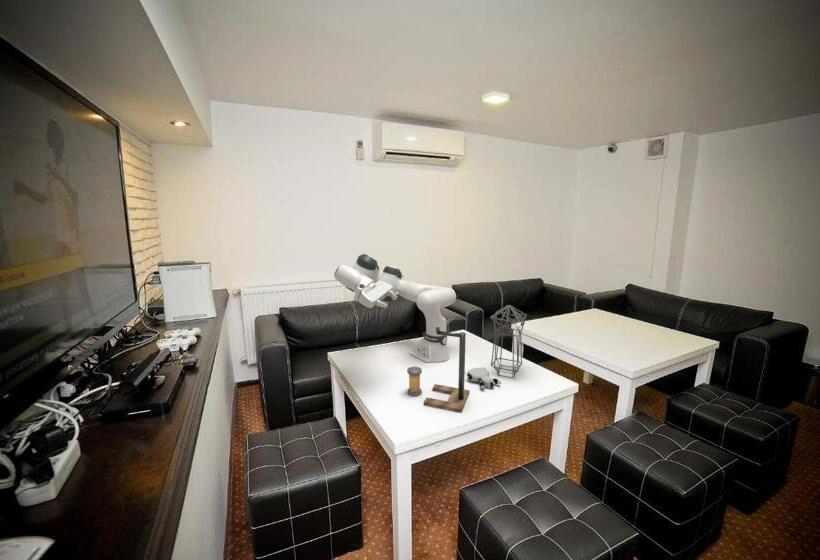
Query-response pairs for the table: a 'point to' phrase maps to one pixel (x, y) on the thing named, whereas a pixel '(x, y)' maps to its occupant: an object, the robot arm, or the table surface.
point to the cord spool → (414, 381)
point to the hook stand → (461, 358)
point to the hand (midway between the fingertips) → (391, 302)
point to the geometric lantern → (508, 335)
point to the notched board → (452, 402)
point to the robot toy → (482, 377)
